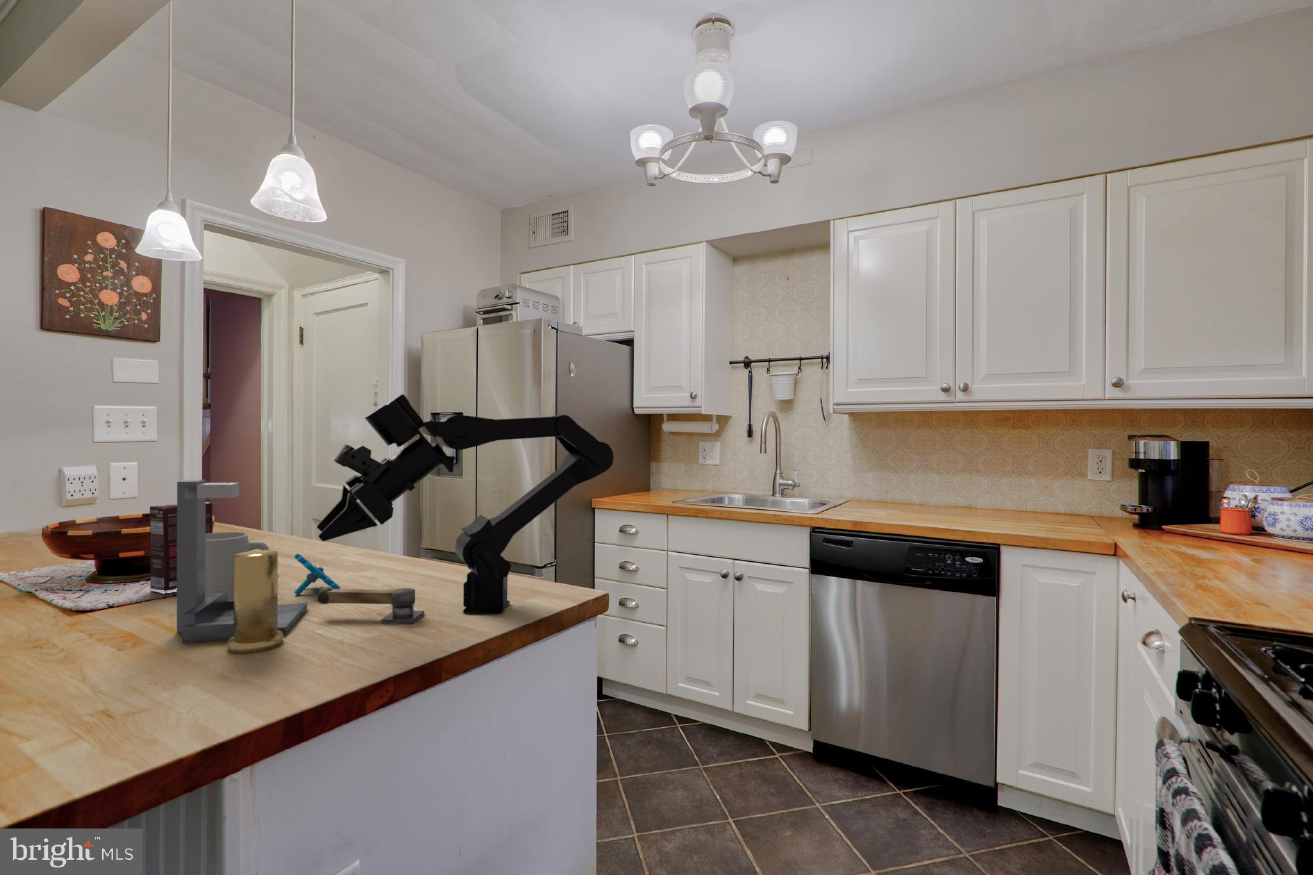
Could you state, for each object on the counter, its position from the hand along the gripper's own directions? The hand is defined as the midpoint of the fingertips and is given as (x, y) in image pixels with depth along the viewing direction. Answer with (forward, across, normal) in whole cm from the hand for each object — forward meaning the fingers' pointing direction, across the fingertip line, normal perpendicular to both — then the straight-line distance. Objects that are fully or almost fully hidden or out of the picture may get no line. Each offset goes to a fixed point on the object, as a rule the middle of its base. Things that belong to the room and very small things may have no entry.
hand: (319, 533), depth 94 cm
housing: (+15, +3, +7) cm, 17 cm away
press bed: (+17, -8, +5) cm, 20 cm away
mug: (+20, -29, +4) cm, 35 cm away
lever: (+2, -4, +14) cm, 15 cm away
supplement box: (+26, -38, -2) cm, 47 cm away
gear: (+9, -25, +12) cm, 29 cm away
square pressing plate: (0, -1, +19) cm, 19 cm away
